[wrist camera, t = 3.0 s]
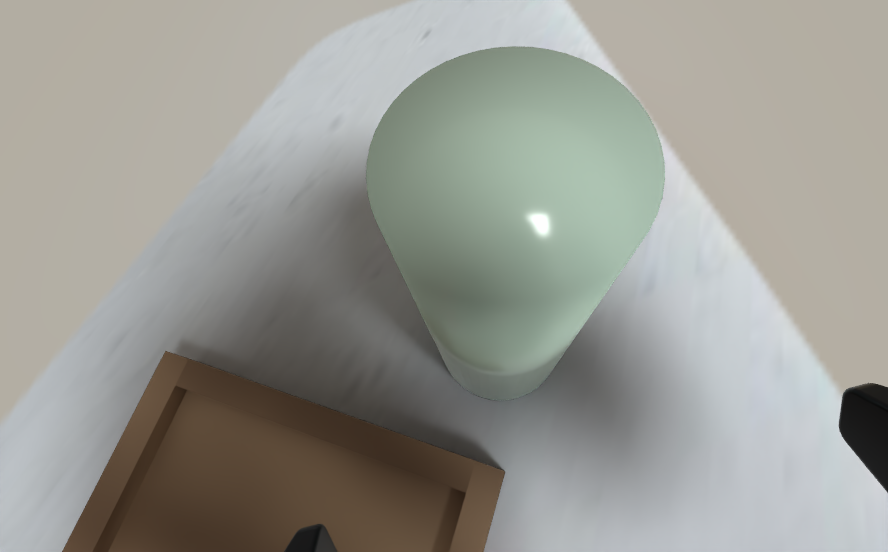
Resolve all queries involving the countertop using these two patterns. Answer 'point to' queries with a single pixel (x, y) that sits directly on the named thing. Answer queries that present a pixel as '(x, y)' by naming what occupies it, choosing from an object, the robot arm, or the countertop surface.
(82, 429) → the countertop surface
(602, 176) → the sage cylinder
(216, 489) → the walnut tray
